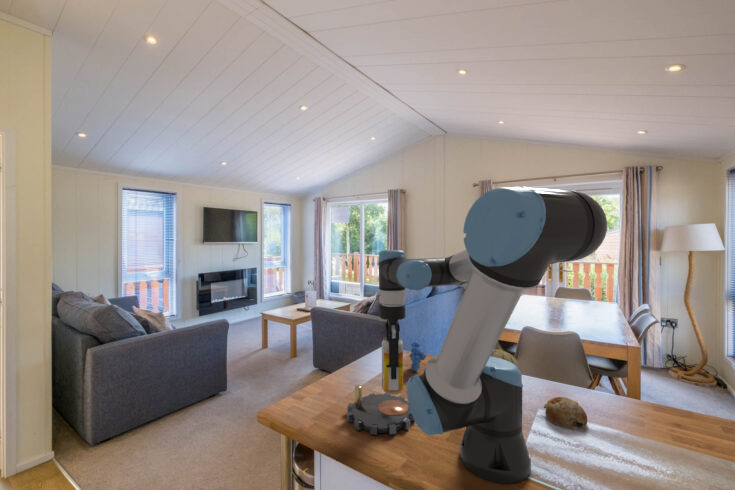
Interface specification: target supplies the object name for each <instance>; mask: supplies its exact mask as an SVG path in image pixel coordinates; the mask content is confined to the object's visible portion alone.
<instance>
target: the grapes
mask: <svg viewBox="0 0 735 490" xmlns="http://www.w3.org/2000/svg"><path fill="white" fill-rule="evenodd" d="M410 346H411V349H410V354H409V355H408V356H409V358H410V360H411V362H412V363H411V364H410V367H411V369H412V370H413V372H418V371H419V370H420V368H421V367H420V365H421V361H424V360H425V359H427V354H426V353H424V352H421V349H420V348H419V347H420V343H419V342H418V341H417V340H415V341H413V342H412V343H411V344H410Z"/></svg>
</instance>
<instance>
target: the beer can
mask: <svg viewBox="0 0 735 490" xmlns="http://www.w3.org/2000/svg"><path fill="white" fill-rule="evenodd" d="M398 355H399V367H398V390H389V381H388V367H386V365H389V342H388V341H387V337H386V336H385V337H383V338H382V341H381V389H382V390H383V392H384V393H387V394H390V395H392V396H396V395H399V394H401V393H402V391H403V390H404V342H403V339H402V338H401V337H400V336H399V341H398Z"/></svg>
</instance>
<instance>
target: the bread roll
mask: <svg viewBox="0 0 735 490" xmlns="http://www.w3.org/2000/svg"><path fill="white" fill-rule="evenodd" d="M543 409H545V416H546V418H547V419H548V420H549V421H550V422H551V424H555V425H557V426H558V427H562V428H563V429H569V430H570V429H571V430H572V431H577V430H579V429H582V428H584V427H586V426H587V423H588V416H587V413H586V411H585V409H584V408H583V407H582V406H581V405H580V404H579V403H578V401H576V400H573V399H571V398H568V397H565V396H558V397H557V396H556V397H553V398H550V399H549V400H547V401H546V403H545V404H544V406H543Z"/></svg>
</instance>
